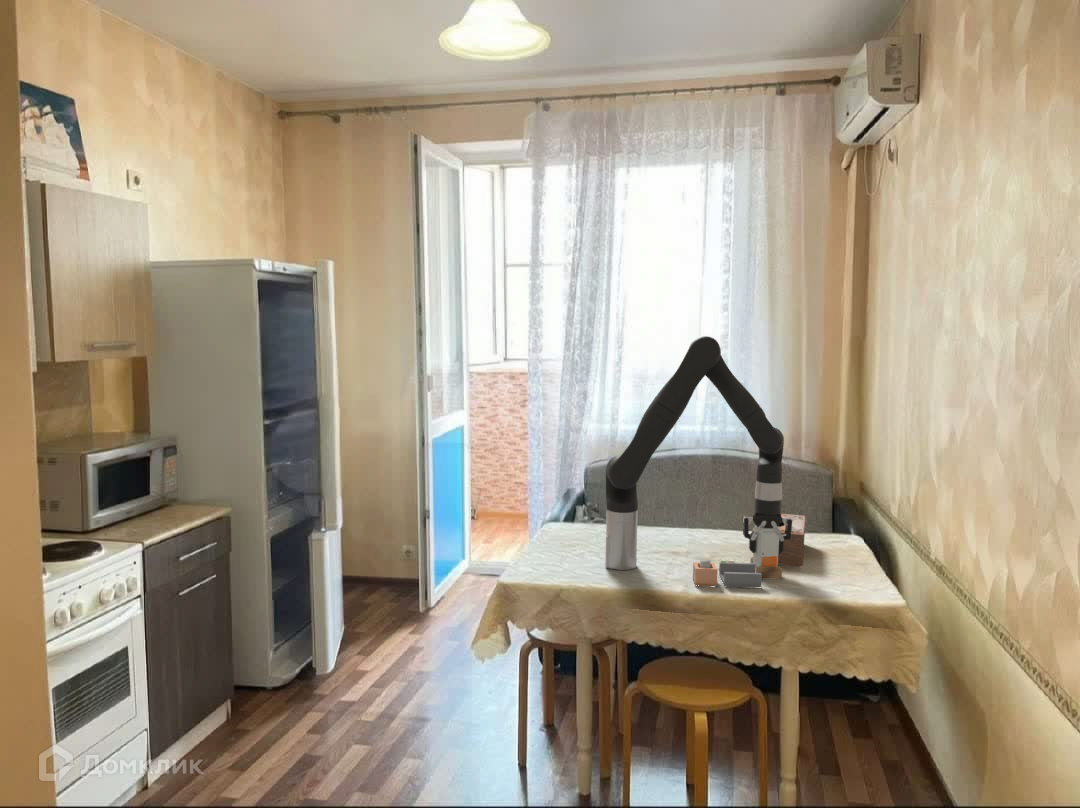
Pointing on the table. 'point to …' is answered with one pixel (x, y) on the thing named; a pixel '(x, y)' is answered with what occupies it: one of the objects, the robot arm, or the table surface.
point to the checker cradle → (739, 574)
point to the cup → (705, 573)
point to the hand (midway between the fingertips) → (765, 552)
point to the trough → (768, 571)
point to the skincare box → (766, 548)
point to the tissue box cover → (793, 541)
